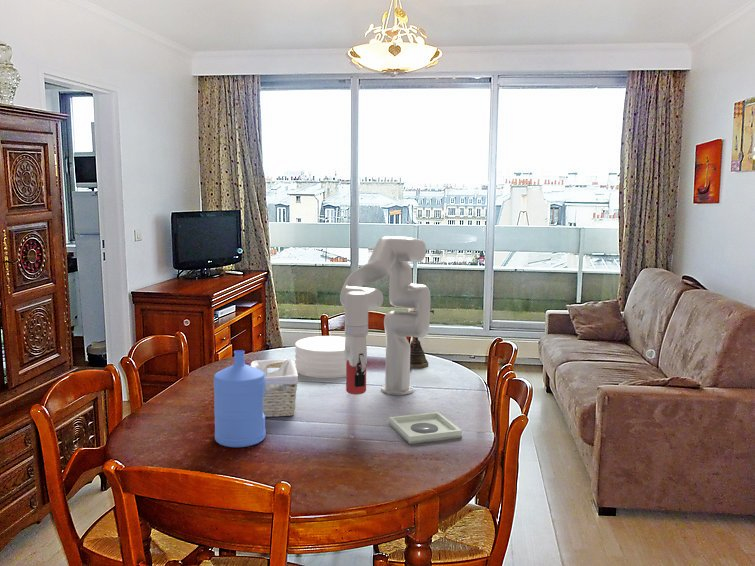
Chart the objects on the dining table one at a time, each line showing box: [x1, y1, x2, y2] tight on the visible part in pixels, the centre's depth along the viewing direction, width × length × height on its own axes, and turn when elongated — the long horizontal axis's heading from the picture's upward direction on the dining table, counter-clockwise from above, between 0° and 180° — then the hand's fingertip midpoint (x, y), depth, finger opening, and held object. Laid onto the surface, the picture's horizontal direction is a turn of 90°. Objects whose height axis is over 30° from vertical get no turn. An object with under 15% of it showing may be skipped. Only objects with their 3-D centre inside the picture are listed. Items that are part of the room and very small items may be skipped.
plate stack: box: [294, 335, 347, 379], centre depth 282 cm, size 28×28×12 cm
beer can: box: [345, 360, 367, 396], centre depth 211 cm, size 7×7×12 cm
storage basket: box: [250, 358, 299, 418], centre depth 231 cm, size 24×16×15 cm
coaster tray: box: [388, 411, 463, 445], centre depth 212 cm, size 18×18×2 cm
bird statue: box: [407, 305, 435, 369], centre depth 286 cm, size 17×13×35 cm
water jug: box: [213, 349, 267, 448], centre depth 201 cm, size 16×16×28 cm
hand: (356, 382), depth 212 cm, fingers closed on beer can, 6 cm apart
